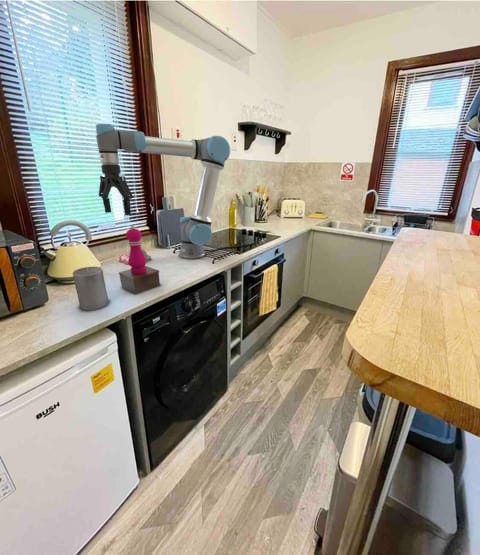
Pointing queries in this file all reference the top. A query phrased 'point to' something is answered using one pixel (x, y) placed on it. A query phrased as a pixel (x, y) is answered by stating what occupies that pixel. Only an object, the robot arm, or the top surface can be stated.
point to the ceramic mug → (144, 254)
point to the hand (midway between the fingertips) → (118, 213)
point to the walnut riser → (139, 280)
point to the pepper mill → (136, 251)
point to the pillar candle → (90, 288)
